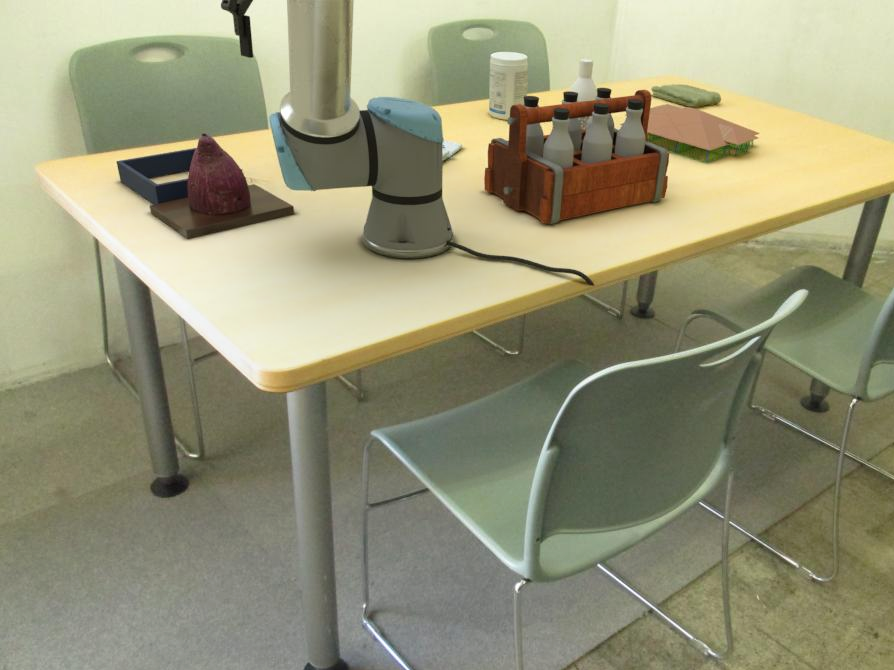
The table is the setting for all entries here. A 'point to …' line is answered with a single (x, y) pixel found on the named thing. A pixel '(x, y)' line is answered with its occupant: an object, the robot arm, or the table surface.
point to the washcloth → (686, 95)
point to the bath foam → (584, 86)
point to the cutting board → (201, 223)
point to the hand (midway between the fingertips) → (281, 55)
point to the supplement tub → (507, 82)
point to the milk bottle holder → (577, 157)
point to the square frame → (146, 167)
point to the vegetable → (216, 180)
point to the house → (697, 130)
